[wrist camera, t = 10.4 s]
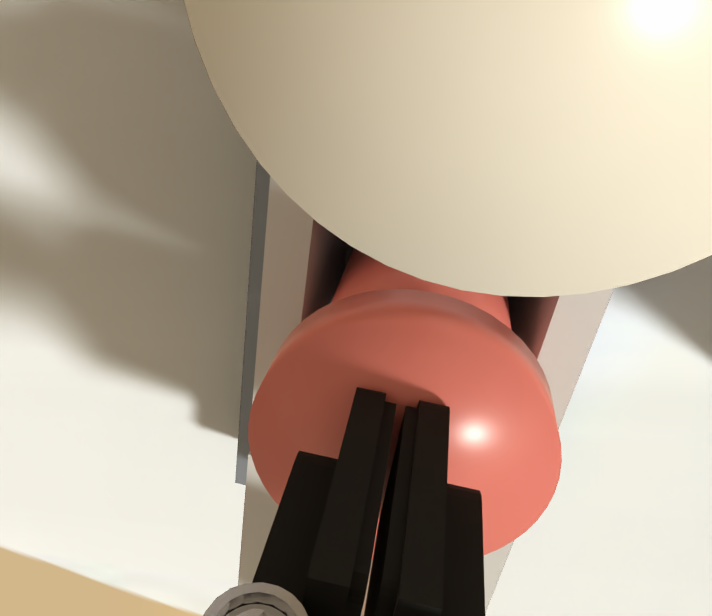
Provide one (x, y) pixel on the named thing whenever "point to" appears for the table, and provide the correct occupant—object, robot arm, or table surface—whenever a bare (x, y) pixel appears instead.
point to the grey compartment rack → (317, 288)
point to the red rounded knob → (416, 389)
